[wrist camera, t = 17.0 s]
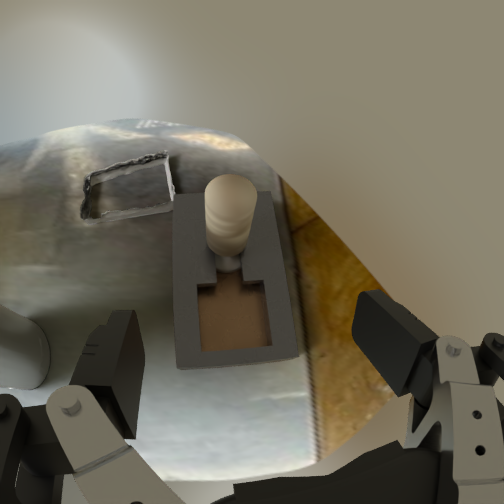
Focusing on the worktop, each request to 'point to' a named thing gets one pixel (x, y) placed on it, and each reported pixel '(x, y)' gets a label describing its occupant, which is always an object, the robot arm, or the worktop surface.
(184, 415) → the worktop surface
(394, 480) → the robot arm
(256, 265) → the keyhole board
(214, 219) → the keyhole peg
